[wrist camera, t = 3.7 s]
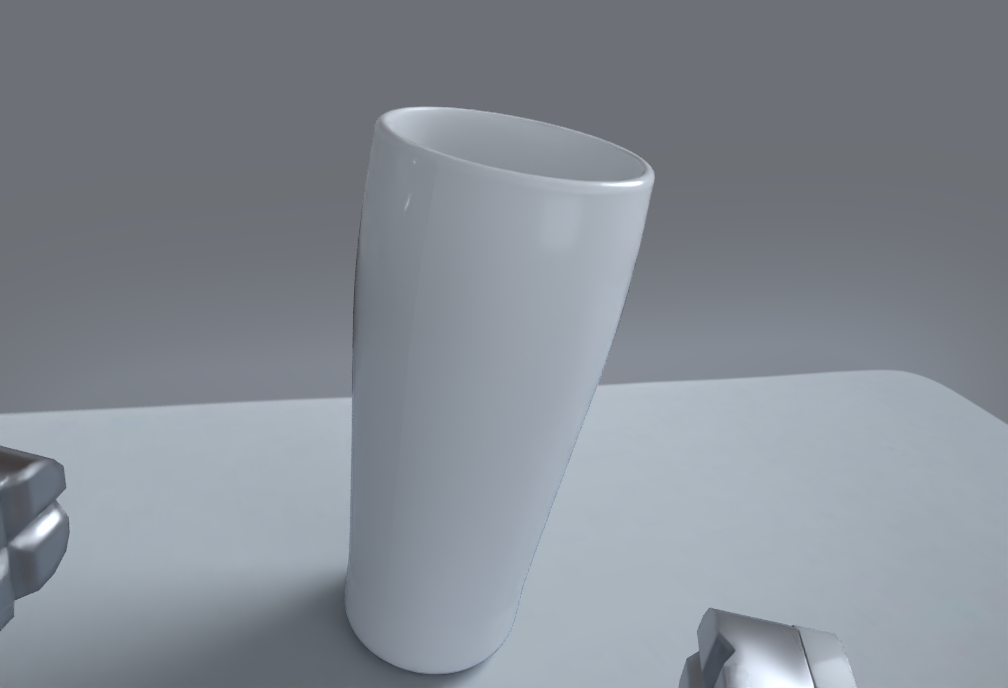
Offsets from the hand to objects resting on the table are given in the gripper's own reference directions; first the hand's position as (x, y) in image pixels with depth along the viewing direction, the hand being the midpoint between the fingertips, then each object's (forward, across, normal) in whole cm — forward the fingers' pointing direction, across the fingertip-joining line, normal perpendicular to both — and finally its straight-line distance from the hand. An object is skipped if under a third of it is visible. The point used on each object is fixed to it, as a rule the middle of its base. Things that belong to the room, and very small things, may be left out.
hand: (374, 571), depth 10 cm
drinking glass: (+11, 0, +12) cm, 16 cm away
